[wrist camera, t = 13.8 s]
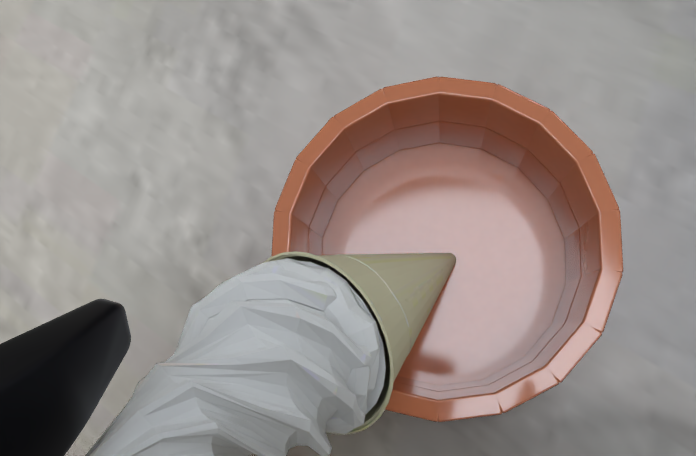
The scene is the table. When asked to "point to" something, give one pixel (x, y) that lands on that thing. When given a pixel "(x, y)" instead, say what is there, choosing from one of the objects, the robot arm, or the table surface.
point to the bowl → (467, 234)
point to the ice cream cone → (283, 357)
